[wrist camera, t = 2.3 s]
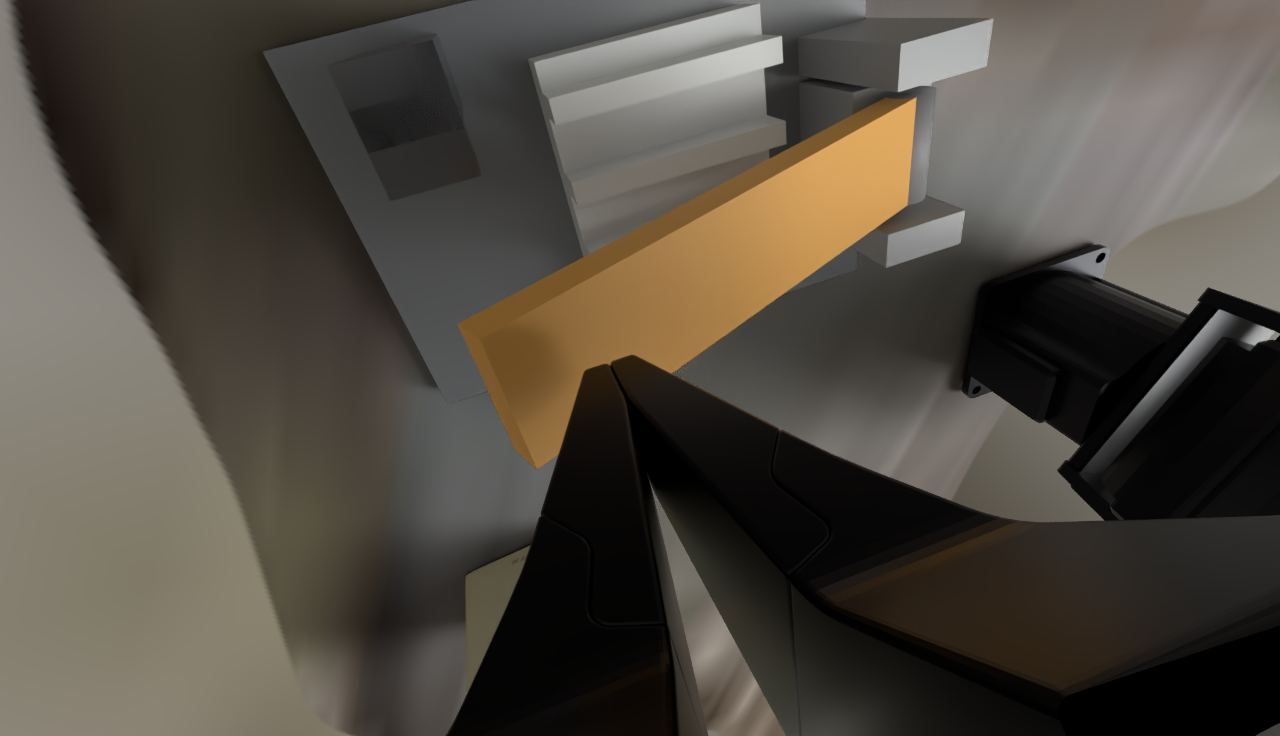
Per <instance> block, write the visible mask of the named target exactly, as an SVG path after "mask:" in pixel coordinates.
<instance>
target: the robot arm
mask: <svg viewBox="0 0 1280 736" xmlns="http://www.w3.org/2000/svg"><path fill="white" fill-rule="evenodd" d="M1109 256H1110V249H1109V248H1107V247H1105V246H1102V245H1099V244H1098V245H1093V246H1091V247H1088V248H1085V249H1082V250H1079V251H1076V252H1073V253H1070V254H1067V255H1064V256H1061V257H1058V258H1055V259H1053V260H1050V261H1047V262H1044V263H1041V264H1038V265H1035V266H1032V267H1029V268H1026V269H1023V270H1020V271H1017V272H1015V273H1012V274H1009V275H1006V276H1003V277H1000V278H997V279H994V280H991V281H989V282H987V283H986V284H985V285H984V286H983V287H982V288H981V290H980V292H979V297H978V302H977V308H976V313H975V319H974V325H973V330H972V336H971V341H970V347H969V352H968V358H967V364H966V369H965V375H964V380H963V386H962V392H963V393H964V394H965V395H967V396H968V397H969V398H975V397H978V396H981V395H984V394H986V393H989V392H992V391H993V392H994V393H995V394H997V395H998V396H1000V397H1001V398H1003V399H1004V400H1005V401H1007V402H1008V403H1010V404H1011V405H1013V406H1014V407H1015V408H1017V409H1018V410H1020V411H1021V412H1023V413H1024V414H1026V415H1027V416H1028V417H1030V418H1031V419H1033V420H1034V421H1036V422H1038V423H1043V422H1046V423H1048V424H1049V425H1051V426H1052V427H1054V428H1055V429H1057V430H1058V431H1059V432H1061V433H1062V434H1064V435H1065V436H1067V437H1068V438H1070V439H1071V440H1073V441H1074V442H1075V443H1077V444H1078V445H1080V447H1079V448H1078V449H1077V451H1076V452H1075V453H1074V454H1073V456H1072V457H1071V458H1070V459H1069V460H1065V461H1064V462H1063V464H1062V465H1061V466H1060V467H1059V468H1058V470H1057V471H1058V472H1059V473H1060V474H1061V475H1062V476H1063V477H1064V478H1065V479H1066V480H1067V481H1068V482H1069V483H1070V484H1071V487H1072V489H1074V491H1075V492H1077V494H1078V495H1079V496H1080V497H1082V499H1083V500H1084V501H1085V502H1086V503H1087V504H1088V505H1090V507H1091V508H1092V509H1093V510H1095V511H1096V512H1097V513H1098V514H1099V515H1100V516H1101V517H1102V518H1103V519H1104V520H1105V521H1079V522H1028V521H1018V520H1012V519H1006V518H1001V517H998V516H993V515H990V514H986V513H983V512H979V511H977V510H974V509H971V508H968V507H965V506H963V505H960V504H958V503H955V502H952V501H950V500H947V499H945V498H942V497H939V496H937V495H934V494H932V493H929V492H926V491H924V490H921V489H919V488H916V487H913V486H911V485H908V484H906V483H903V482H900V481H898V480H895V479H893V478H890V477H887V476H885V475H882V474H880V473H877V472H874V471H872V470H869V469H867V468H865V467H862V466H860V465H857V464H855V463H852V462H850V461H848V460H845V459H843V458H840V457H838V456H835V455H833V454H831V453H829V452H827V451H825V450H822V449H820V448H818V447H816V446H814V445H812V444H810V443H808V442H806V441H803V440H801V439H799V438H797V437H796V436H794V435H792V434H790V433H788V432H786V431H784V430H781V431H779V429H778V428H777V427H775V426H773V425H771V424H770V423H768V422H766V421H764V420H762V419H760V418H758V417H756V416H754V415H752V414H750V413H748V412H746V411H744V410H742V409H740V408H738V407H736V406H734V405H732V404H730V403H728V402H726V401H724V400H722V399H720V398H718V397H716V396H714V395H713V394H711V393H709V392H707V391H705V390H703V389H701V388H699V387H697V386H695V385H693V384H691V383H689V382H687V381H685V380H683V379H681V378H679V377H677V376H675V375H673V374H671V373H669V372H667V371H665V370H663V369H661V368H659V367H657V366H656V365H654V364H652V363H650V362H648V361H646V360H644V359H642V358H640V357H638V356H636V355H628V356H625V357H622V358H619V359H616V360H614V361H612V362H611V363H610V365H609V364H601V365H598V366H595V367H592V368H589V369H586V370H585V371H584V373H583V376H582V379H581V382H580V386H579V389H578V392H577V396H576V399H575V402H574V405H573V409H572V412H571V415H570V419H569V422H568V425H567V428H566V432H565V435H564V438H563V442H562V445H561V448H560V451H559V455H558V458H557V461H556V465H555V468H554V471H553V474H552V478H551V481H550V484H549V488H548V491H547V494H546V497H545V501H544V504H543V507H542V511H541V516H540V517H539V519H538V523H537V526H536V529H535V533H534V536H533V539H532V542H531V545H530V548H529V551H528V554H527V557H526V560H525V562H524V565H523V568H522V571H521V574H520V576H519V578H518V581H517V583H516V585H515V588H514V590H513V592H512V595H511V597H510V600H509V602H508V604H507V607H506V609H505V611H504V613H503V616H502V618H501V620H500V622H499V624H498V627H497V629H496V631H495V633H494V635H493V638H492V640H491V642H490V644H489V646H488V649H487V651H486V653H485V655H484V657H483V660H482V662H481V664H480V666H479V669H478V671H477V673H476V675H475V677H474V680H473V682H472V684H471V686H470V688H469V691H468V693H467V695H466V697H465V699H464V702H463V704H462V706H461V708H460V710H459V712H458V714H457V716H456V718H455V720H454V722H453V724H452V726H451V727H450V729H449V731H448V733H447V734H446V736H708V732H707V728H706V724H705V719H704V715H703V711H702V706H701V702H700V697H699V693H698V689H697V684H696V680H695V676H694V671H693V667H692V662H691V658H690V654H689V649H688V645H687V641H686V636H685V632H684V627H683V623H682V619H681V614H680V610H679V606H678V601H677V597H676V592H675V588H674V584H673V579H672V575H671V571H670V566H669V562H668V557H667V553H666V549H665V544H664V540H663V536H662V531H661V527H660V522H659V518H658V514H657V509H656V505H655V501H654V497H653V493H652V489H651V486H652V488H653V490H654V492H655V494H656V496H657V498H658V500H659V502H660V504H661V505H662V507H663V509H664V511H665V513H666V515H667V517H668V518H669V520H670V522H671V524H672V526H673V528H674V530H675V531H676V533H677V535H678V537H679V539H680V541H681V542H682V544H683V546H684V548H685V550H686V552H687V554H688V555H689V557H690V559H691V561H692V563H693V565H694V566H695V568H696V570H697V572H698V574H699V576H700V578H701V579H702V581H703V583H704V585H705V587H706V589H707V590H708V592H709V594H710V596H711V598H712V600H713V602H714V603H715V605H716V607H717V609H718V611H719V613H720V614H721V616H722V618H723V620H724V622H725V624H726V626H727V627H728V629H729V631H730V633H731V635H732V637H733V638H734V640H735V642H736V644H737V646H738V648H739V650H740V651H741V653H742V655H743V657H744V659H745V661H746V663H747V664H748V666H749V668H750V670H751V672H752V674H753V675H754V677H755V679H756V681H757V683H758V685H759V687H760V688H761V690H762V692H763V694H764V696H765V698H766V699H767V701H768V703H769V705H770V707H771V709H772V711H773V712H774V714H775V716H776V718H777V720H778V722H779V723H780V725H781V727H782V729H783V731H784V733H785V735H786V736H1280V336H1279V337H1278V338H1277V339H1276V340H1268V339H1269V338H1270V337H1271V336H1272V334H1273V333H1274V332H1275V331H1276V332H1278V333H1280V312H1278V311H1275V310H1272V309H1269V308H1267V307H1264V306H1261V305H1258V304H1255V303H1252V302H1249V301H1246V300H1243V299H1240V298H1237V297H1235V296H1232V295H1229V294H1225V293H1223V292H1220V291H1217V290H1214V289H1211V288H1207V289H1206V290H1205V292H1204V293H1203V294H1202V295H1201V296H1200V298H1199V299H1198V301H1200V302H1199V303H1198V305H1197V306H1196V307H1195V308H1194V309H1193V311H1192V312H1191V313H1190V314H1189V315H1188V314H1186V313H1183V312H1181V311H1178V310H1176V309H1174V308H1171V307H1169V306H1166V305H1164V304H1161V303H1159V302H1156V301H1154V300H1151V299H1149V298H1147V297H1144V296H1141V295H1139V294H1137V293H1134V292H1132V291H1129V290H1127V289H1124V288H1122V287H1119V286H1117V285H1114V284H1112V283H1110V282H1107V281H1105V280H1102V278H1103V275H1104V272H1105V269H1106V266H1107V262H1108V259H1109ZM649 481H650V482H649ZM650 483H651V486H650Z"/></svg>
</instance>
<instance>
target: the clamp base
mask: <svg viewBox="0 0 1280 736" xmlns="http://www.w3.org/2000/svg"><path fill="white" fill-rule="evenodd" d="M865 8H866V0H471V1H467V2H463V3H459V4H455V5H451V6H447V7H443V8H439V9H435V10H431V11H426V12H422V13H418V14H414V15H410V16H406V17H402V18H398V19H394V20H390V21H386V22H382V23H377V24H373V25H369V26H365V27H361V28H357V29H353V30H349V31H345V32H341V33H337V34H332V35H328V36H324V37H320V38H316V39H312V40H308V41H304V42H300V43H296V44H292V45H288V46H283V47H279V48H275V49H271V50H267V51H263V54H264V56H265V58H266V60H267V62H268V64H269V65H270V67H271V69H272V71H273V73H274V75H275V77H276V79H277V81H278V83H279V84H280V86H281V88H282V90H283V92H284V94H285V96H286V98H287V100H288V102H289V104H290V105H291V107H292V109H293V111H294V113H295V115H296V117H297V119H298V121H299V123H300V125H301V126H302V128H303V130H304V132H305V134H306V136H307V138H308V140H309V142H310V144H311V146H312V147H313V149H314V151H315V153H316V155H317V157H318V159H319V161H320V163H321V165H322V166H323V168H324V170H325V172H326V174H327V176H328V178H329V180H330V182H331V184H332V186H333V187H334V189H335V191H336V193H337V195H338V197H339V199H340V201H341V203H342V205H343V207H344V208H345V210H346V212H347V214H348V216H349V218H350V220H351V222H352V224H353V226H354V228H355V229H356V231H357V233H358V235H359V237H360V239H361V241H362V243H363V245H364V247H365V248H366V250H367V252H368V254H369V256H370V258H371V260H372V262H373V264H374V266H375V268H376V269H377V271H378V273H379V275H380V277H381V279H382V281H383V283H384V285H385V287H386V289H387V290H388V292H389V294H390V296H391V298H392V300H393V302H394V304H395V306H396V308H397V310H398V311H399V313H400V315H401V317H402V319H403V321H404V323H405V325H406V327H407V329H408V331H409V332H410V334H411V336H412V338H413V340H414V342H415V344H416V346H417V348H418V350H419V351H420V353H421V355H422V357H423V359H424V361H425V363H426V365H427V367H428V369H429V371H430V372H431V374H432V376H433V378H434V380H435V382H436V384H437V386H438V388H439V390H440V392H441V393H442V395H443V397H444V399H445V401H446V403H447V405H448V404H451V403H454V402H457V401H460V400H463V399H466V398H469V397H472V396H475V395H478V394H481V393H484V392H487V391H488V390H487V388H486V385H485V383H484V381H483V379H482V377H481V375H480V372H479V370H478V368H477V366H476V364H475V362H474V359H473V357H472V355H471V353H470V351H469V348H468V346H467V344H466V342H465V340H464V338H463V335H462V333H461V331H460V329H459V327H458V325H457V324H458V323H460V322H462V321H464V320H466V319H468V318H470V317H471V316H473V315H475V314H477V313H479V312H481V311H483V310H485V309H487V308H488V307H490V306H492V305H494V304H496V303H498V302H500V301H502V300H504V299H505V298H507V297H509V296H511V295H513V294H515V293H517V292H519V291H521V290H522V289H524V288H526V287H528V286H530V285H532V284H534V283H536V282H538V281H539V280H541V279H543V278H545V277H547V276H549V275H551V274H553V273H555V272H557V271H558V270H560V269H562V268H564V267H566V266H568V265H570V264H572V263H574V262H575V261H577V260H579V259H581V258H583V257H585V256H587V255H589V254H591V253H592V252H594V251H596V250H598V249H600V248H602V247H604V246H606V245H608V244H609V243H611V242H613V241H615V240H617V239H619V238H621V237H623V236H625V235H626V234H628V233H630V232H632V231H634V230H636V229H638V228H640V227H642V226H643V225H645V224H647V223H649V222H651V221H653V220H655V219H657V218H659V217H661V216H662V215H664V214H666V213H668V212H670V211H672V210H674V209H676V208H678V207H679V206H681V205H683V204H685V203H687V202H689V201H691V200H693V199H695V198H696V197H698V196H700V195H702V194H704V193H706V192H708V191H710V190H712V189H713V188H715V187H717V186H719V185H721V184H723V183H725V182H727V181H729V180H730V179H732V178H734V177H736V176H738V175H740V174H742V173H744V172H746V171H747V170H749V169H751V168H753V167H755V166H757V165H759V164H761V163H763V162H765V161H766V160H768V159H770V158H772V157H774V156H776V155H778V154H780V153H782V152H783V151H785V150H787V149H789V148H791V147H793V146H795V145H797V144H799V143H800V142H802V141H804V140H806V139H808V138H810V137H812V136H814V135H816V134H817V133H819V132H821V131H823V130H825V129H827V128H829V127H831V126H833V125H834V124H836V123H838V122H840V121H842V120H844V119H846V118H848V117H850V116H851V115H853V114H855V113H857V112H859V111H861V110H863V109H865V108H867V107H869V106H870V105H872V104H874V103H876V102H878V101H880V100H882V99H884V98H885V94H886V93H888V92H890V91H893V92H900V91H904V90H907V89H911V88H914V87H917V86H931V84H932V82H935V81H938V80H942V79H945V78H948V77H952V76H955V75H959V74H962V73H966V72H969V71H973V70H976V69H979V68H983V67H986V66H987V59H988V53H989V46H990V39H991V32H992V26H993V19H994V18H865ZM436 34H438V36H439V39H440V42H441V45H442V47H443V50H444V53H445V56H446V59H447V62H448V64H449V67H450V70H451V73H452V76H453V78H454V81H455V84H456V87H457V90H458V92H459V95H460V98H461V101H462V106H463V119H464V124H465V127H466V130H467V132H468V135H469V138H470V141H471V144H472V146H473V149H474V152H475V155H476V157H477V160H478V163H479V166H480V169H481V175H482V176H478V177H475V178H471V179H468V180H464V181H461V182H457V183H454V184H450V185H446V186H443V187H439V188H436V189H432V190H429V191H425V192H422V193H418V194H415V195H411V196H408V197H404V198H400V199H397V200H393V201H390V200H389V197H388V195H387V193H386V191H385V189H384V187H383V185H382V183H381V181H380V178H379V176H378V174H377V172H376V170H375V168H374V166H373V164H372V161H371V159H370V157H369V155H368V153H367V151H366V149H365V147H364V144H363V142H362V140H361V138H360V136H359V134H358V132H357V130H356V127H355V125H354V123H353V121H352V119H351V117H350V115H349V113H348V110H347V108H346V106H345V104H344V102H343V100H342V98H341V96H340V93H339V91H338V89H337V87H336V85H335V83H334V81H333V79H332V77H331V74H330V72H329V70H328V68H327V66H329V65H331V64H334V63H336V62H339V61H341V60H344V59H347V58H349V57H352V56H354V55H357V54H360V53H364V52H368V51H372V50H376V49H380V48H384V47H388V46H392V45H396V44H400V43H404V42H408V41H412V40H416V39H420V38H424V37H428V36H432V35H436ZM964 215H965V210H963V209H961V208H958V207H956V206H953V205H950V204H948V203H945V202H942V201H940V200H937V199H935V198H932V197H929V196H927V195H925V199H924V200H922V201H921V202H919V203H916V204H912V205H907V206H906V207H904V208H903V209H902V210H900V211H899V212H897V213H896V214H895V215H893V216H892V217H890V218H889V219H888V220H886V221H885V222H883V223H882V224H881V225H879V226H878V227H876V228H875V229H874V230H872V231H871V232H869V233H868V234H867V235H865V236H864V237H862V238H861V239H860V240H858V241H857V242H855V243H854V244H853V245H851V246H850V247H848V248H847V249H846V250H844V251H843V252H841V253H840V254H839V255H837V256H836V257H834V258H833V259H832V260H830V261H829V262H827V263H826V264H825V265H823V266H822V267H820V268H819V269H818V270H816V271H815V272H813V273H812V274H811V275H809V276H808V277H806V278H805V279H804V280H802V281H801V282H799V283H798V284H797V285H795V286H794V287H792V288H791V289H790V290H788V291H787V292H785V293H788V292H791V291H794V290H797V289H801V288H804V287H807V286H810V285H813V284H816V283H819V282H822V281H825V280H828V279H831V278H834V277H837V276H840V275H843V274H846V273H849V272H852V271H855V270H857V254H858V252H860V253H861V254H863V255H865V256H866V257H868V258H870V259H872V260H873V261H875V262H877V263H878V264H880V265H882V266H884V267H885V268H888V267H891V266H894V265H897V264H900V263H903V262H906V261H909V260H912V259H915V258H918V257H921V256H924V255H927V254H930V253H933V252H936V251H939V250H942V249H945V248H948V247H951V246H954V245H957V244H960V242H961V235H962V228H963V222H964ZM785 293H784V294H785Z"/></svg>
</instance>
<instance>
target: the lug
mask: <svg viewBox="0 0 1280 736" xmlns="http://www.w3.org/2000/svg"><path fill="white" fill-rule="evenodd" d="M327 68H328V70H329V72H330V74H331V77H332V79H333V81H334V83H335V85H336V87H337V89H338V91H339V93H340V96H341V98H342V100H343V102H344V104H345V106H346V108H347V110H348V113H349V115H350V117H351V119H352V121H353V123H354V125H355V127H356V130H357V132H358V134H359V136H360V138H361V140H362V142H363V144H364V147H365V149H366V151H367V153H368V155H369V157H370V159H371V161H372V164H373V166H374V168H375V170H376V172H377V174H378V176H379V178H380V181H381V183H382V185H383V187H384V189H385V191H386V193H387V195H388V197H389V200H390V201H393V200H397V199H400V198H404V197H408V196H411V195H415V194H418V193H422V192H425V191H429V190H432V189H436V188H439V187H443V186H446V185H450V184H454V183H457V182H461V181H464V180H468V179H471V178H475V177H478V176H482V175H481V169H480V166H479V163H478V160H477V157H476V155H475V152H474V149H473V146H472V144H471V141H470V138H469V135H468V132H467V130H466V127H465V124H464V119H463V106H462V101H461V98H460V95H459V92H458V90H457V87H456V84H455V81H454V78H453V76H452V73H451V70H450V67H449V64H448V62H447V59H446V56H445V53H444V50H443V47H442V45H441V42H440V39H439V36H438V34H436V35H432V36H428V37H424V38H420V39H416V40H412V41H408V42H404V43H400V44H396V45H392V46H388V47H384V48H380V49H376V50H372V51H368V52H364V53H360V54H357V55H354V56H352V57H349V58H347V59H344V60H341V61H339V62H336V63H334V64H331V65H329V66H327Z"/></svg>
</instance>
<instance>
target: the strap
mask: <svg viewBox="0 0 1280 736" xmlns="http://www.w3.org/2000/svg"><path fill="white" fill-rule="evenodd" d="M935 98H936V88H935V87H932V86H917V87H914V88H911V89H907V90H904V91H900V92H893V91H890V92H888V93H886V94H885V98H884V99H882V100H880V101H878V102H876V103H874V104H872V105H870V106H869V107H867V108H865V109H863V110H861V111H859V112H857V113H855V114H853V115H851V116H850V117H848V118H846V119H844V120H842V121H840V122H838V123H836V124H834V125H833V126H831V127H829V128H827V129H825V130H823V131H821V132H819V133H817V134H816V135H814V136H812V137H810V138H808V139H806V140H804V141H802V142H800V143H799V144H797V145H795V146H793V147H791V148H789V149H787V150H785V151H783V152H782V153H780V154H778V155H776V156H774V157H772V158H770V159H768V160H766V161H765V162H763V163H761V164H759V165H757V166H755V167H753V168H751V169H749V170H747V171H746V172H744V173H742V174H740V175H738V176H736V177H734V178H732V179H730V180H729V181H727V182H725V183H723V184H721V185H719V186H717V187H715V188H713V189H712V190H710V191H708V192H706V193H704V194H702V195H700V196H698V197H696V198H695V199H693V200H691V201H689V202H687V203H685V204H683V205H681V206H679V207H678V208H676V209H674V210H672V211H670V212H668V213H666V214H664V215H662V216H661V217H659V218H657V219H655V220H653V221H651V222H649V223H647V224H645V225H643V226H642V227H640V228H638V229H636V230H634V231H632V232H630V233H628V234H626V235H625V236H623V237H621V238H619V239H617V240H615V241H613V242H611V243H609V244H608V245H606V246H604V247H602V248H600V249H598V250H596V251H594V252H592V253H591V254H589V255H587V256H585V257H583V258H581V259H579V260H577V261H575V262H574V263H572V264H570V265H568V266H566V267H564V268H562V269H560V270H558V271H557V272H555V273H553V274H551V275H549V276H547V277H545V278H543V279H541V280H539V281H538V282H536V283H534V284H532V285H530V286H528V287H526V288H524V289H522V290H521V291H519V292H517V293H515V294H513V295H511V296H509V297H507V298H505V299H504V300H502V301H500V302H498V303H496V304H494V305H492V306H490V307H488V308H487V309H485V310H483V311H481V312H479V313H477V314H475V315H473V316H471V317H470V318H468V319H466V320H464V321H462V322H460V323H458V324H457V325H458V327H459V329H460V331H461V333H462V335H463V338H464V340H465V342H466V344H467V346H468V348H469V351H470V353H471V355H472V357H473V359H474V362H475V364H476V366H477V368H478V370H479V372H480V375H481V377H482V379H483V381H484V383H485V385H486V388H487V390H488V392H489V394H490V396H491V399H492V401H493V403H494V405H495V407H496V409H497V412H498V414H499V416H500V418H501V420H502V422H503V425H504V427H505V429H506V431H507V433H508V435H509V438H510V440H511V442H512V444H513V446H514V449H515V450H516V451H517V452H518V453H519V454H520V455H521V456H522V457H524V458H525V459H526V460H527V461H528V462H529V463H530V464H531V465H533V466H534V467H535V468H536V469H539V468H540V467H542V466H543V465H545V464H546V463H547V462H549V461H550V460H552V459H553V458H554V457H556V456H557V455H559V451H560V448H561V445H562V442H563V438H564V435H565V432H566V428H567V425H568V422H569V419H570V415H571V412H572V409H573V405H574V402H575V399H576V396H577V392H578V389H579V386H580V382H581V379H582V376H583V373H584V371H585V370H586V369H589V368H592V367H595V366H598V365H601V364H609V365H610V363H611V362H612V361H614V360H616V359H619V358H622V357H625V356H628V355H636V356H638V357H640V358H642V359H644V360H646V361H648V362H650V363H652V364H654V365H656V366H657V367H659V368H661V369H663V370H665V371H667V372H669V373H671V374H672V373H673V372H675V371H676V370H678V369H679V368H680V367H682V366H683V365H685V364H686V363H687V362H689V361H690V360H692V359H693V358H694V357H696V356H697V355H699V354H700V353H701V352H703V351H704V350H706V349H707V348H708V347H710V346H711V345H713V344H714V343H715V342H717V341H718V340H720V339H721V338H722V337H724V336H725V335H727V334H728V333H729V332H731V331H732V330H734V329H735V328H736V327H738V326H739V325H741V324H742V323H743V322H745V321H746V320H748V319H749V318H750V317H752V316H753V315H755V314H756V313H757V312H759V311H760V310H762V309H763V308H764V307H766V306H767V305H769V304H770V303H771V302H773V301H774V300H776V299H777V298H778V297H780V296H781V295H783V294H784V293H785V292H787V291H788V290H790V289H791V288H792V287H794V286H795V285H797V284H798V283H799V282H801V281H802V280H804V279H805V278H806V277H808V276H809V275H811V274H812V273H813V272H815V271H816V270H818V269H819V268H820V267H822V266H823V265H825V264H826V263H827V262H829V261H830V260H832V259H833V258H834V257H836V256H837V255H839V254H840V253H841V252H843V251H844V250H846V249H847V248H848V247H850V246H851V245H853V244H854V243H855V242H857V241H858V240H860V239H861V238H862V237H864V236H865V235H867V234H868V233H869V232H871V231H872V230H874V229H875V228H876V227H878V226H879V225H881V224H882V223H883V222H885V221H886V220H888V219H889V218H890V217H892V216H893V215H895V214H896V213H897V212H899V211H900V210H902V209H903V208H904V207H906V206H907V205H912V204H916V203H919V202H921V201H922V200H924V199H925V195H926V185H927V176H928V166H929V156H930V146H931V137H932V127H933V117H934V108H935Z"/></svg>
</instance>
